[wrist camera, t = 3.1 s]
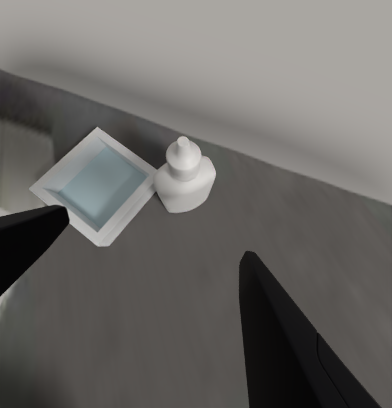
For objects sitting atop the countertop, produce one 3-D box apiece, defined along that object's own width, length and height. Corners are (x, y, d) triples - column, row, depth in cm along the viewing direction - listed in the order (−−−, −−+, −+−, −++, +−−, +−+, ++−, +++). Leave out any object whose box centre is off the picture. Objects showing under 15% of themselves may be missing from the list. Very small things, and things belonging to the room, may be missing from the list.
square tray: (108, 246, 19) (97, 246, 17) (47, 195, 20) (28, 188, 18) (164, 181, 22) (161, 173, 19) (106, 139, 23) (97, 126, 20)
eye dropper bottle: (167, 180, 22) (143, 105, 10) (208, 186, 22) (232, 118, 10) (161, 212, 20) (127, 168, 9) (204, 217, 21) (227, 182, 9)
